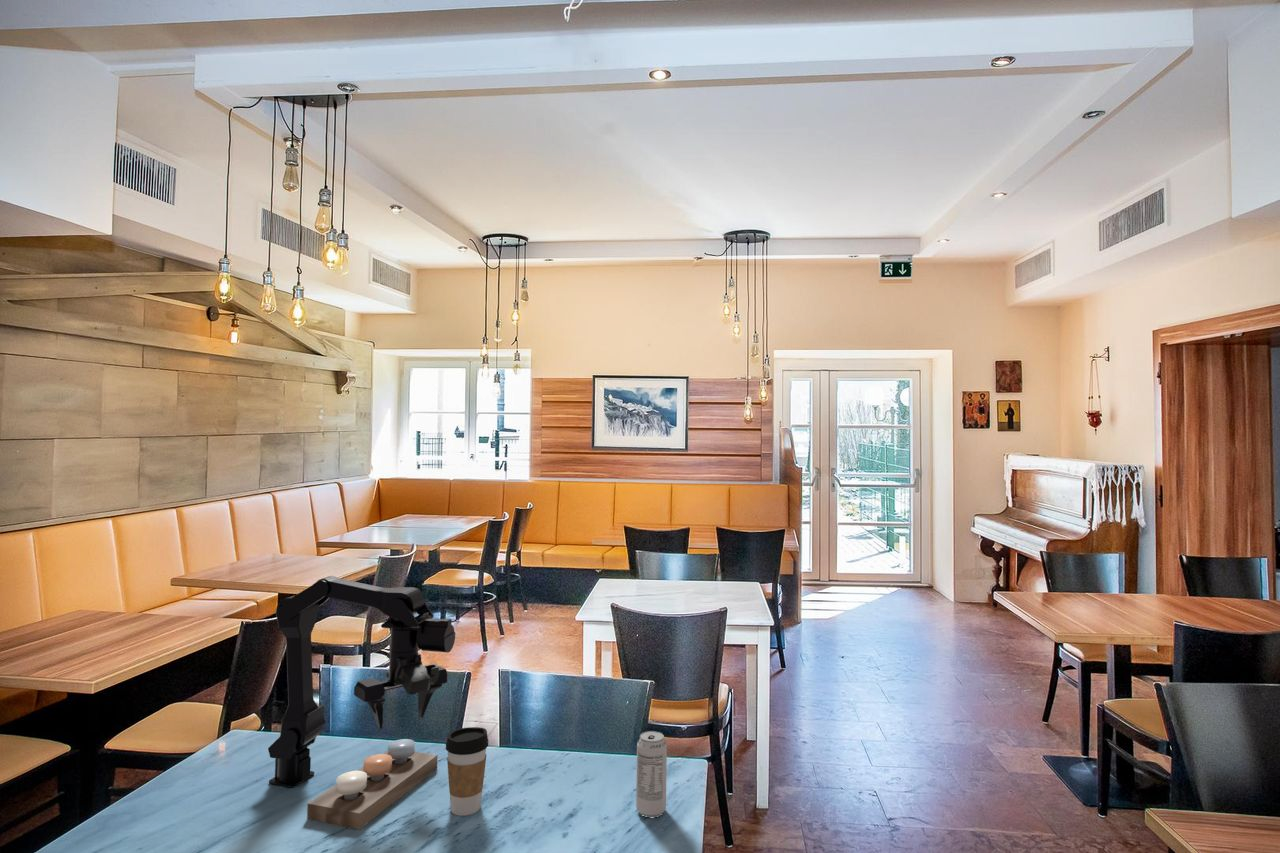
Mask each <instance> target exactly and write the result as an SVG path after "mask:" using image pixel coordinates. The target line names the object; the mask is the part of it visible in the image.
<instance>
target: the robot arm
mask: <svg viewBox="0 0 1280 853" xmlns="http://www.w3.org/2000/svg"><path fill="white" fill-rule="evenodd" d="M329 599H333V600H337V601H342V602H346V603H352V604H355V605H361V606H365V607H369V608H373V609H376V610H378V611H379V612H380V613H381V614H383V615H384V616H387V617H388V618H387V619H386V621H384V622H383V623H381V625H380V627H381V628H383V629H390V644H389V646H390V648H389V649H390V651H388V652H386V658H388V659H389V664H388V666H389V668H388V671H386V673H385V677H386V678H387V679H388V680H383V681H380V680H378V679H376V678H374V677H373V678H372V677H370V678H367V679H363V680H358V681H357V682H356V684H355V685H354V687H353V689H354V690H353V695H354V696H355V697H356V698H358V699H359V700H361V701H363V702H365V703H366V704H368V706H369V708H370V711H371V713H372V715H373V716H372V717H373V718H374V720H375V723H376V726H377V728H378V730H382V729H383V723H384V716H383V715H384V704H385V701H386V699H385V698H384V696H385V692H386V691H390V690H393V689H397V688H399V689H400V688H402V687H403V689H404V690H405V692H406V694H407V695H410V696H411V695H412V696H413V695H416V694H417V701H418V702H417V703H418V704H417V709H418V717H419V718H421V719H422V718H424V716H425V712H426V710H427V708H428V706H429V703H430V700H431V699H432V696H433V694H434V692H436V691H437V690H438V689H441V688H442V687H443V684H446V683H448V682H449V672H448V670H447V669H446V668H444V667H442V666H440V665H438V664H437V663H431V664H426V665H425V664H423V662H422V654H421V653H419V649H420V650H421V651H423V652H434V653H436V652H437V653H446V654H448V653H450V652H451V651H452V650H453V648H454V645H455V643H456V642H455V640H456V632H455V627H454V626H453V624H452V620H453V619H452V618H434V614H433V612H432V611H431V609H430V608H429V606H428V604H427V603H426V601H425V598H424V594H423V593H422V591H421V590H420V589H419V588H417V587H410V586H409V587H408V586H404V587H403V586H400V587H382V586H377V585H373V584H367V583H363V582H362V583H361V582H358V581H353V580H349V579H343V578H339V577H338V576H336V575H335V576H334V575H330V576H326V577H322V578H320V579H318V580H317V581H316V582H314V583H313V584H312V585H310V586H308V587H307V588H306V589H305V588H304V590H302V591H300V592H299V593H297V594H296V595H295V594H294V595H292V596H289V597H286V598H283V599H281V601H280V602H279V603H278V604H277V605H276V609H275V615H276V619H277V621H276V622H277V624H278V628H279V630H280V632H281V633H282V634H283V636H284V637H285V642H286V669H287V670H286V672H287V675H286V676H287V677H286V678H287V694H288V695H287V700H288V701H287V702H288V705H287V708H286V711H285V712H284V715H283V718H282V720H281V727H280V733H279V734H280V735H279V737H278V738H277V739H276V740H275V741H274V742H273V743H272V744H271V745H270V746H269V747H268V754H269V757H270V758H271V759H275V761H274V762H275V763H274V764H275V765H274V777H273V778H271V779H269V781H268V784H271V785H277V786H282V787H288V788H294V787H296V786H298V785H299V784H301V783H303V782H304V781H306V780H307V779H309V778H311V777H313V776H314V775H315V771H312V770H311V763H312V757H311V756H310V754H311V748H308V747H309V746H311V745H312V744H314V743H315V741H316V738H317V737H318V736H319V735H320V734H321V733H322V731H323V727H324V725H326V723H327V722H326V720H325V706H324V705H320V706H318V704H317V702H316V701H315V700H314V685H313V684H314V681H313V655H312V654H313V651H312V633H313V630H314V628H315V626H316V623H317V620H318V613H319V607H320V606H322V605H324V603H326V602H327V601H328V600H329ZM415 614H417V615H415Z"/></svg>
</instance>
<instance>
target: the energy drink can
mask: <svg viewBox="0 0 1280 853" xmlns="http://www.w3.org/2000/svg"><path fill="white" fill-rule="evenodd" d="M667 750H668V744H667V742H666V740H665V735H664V734H663V733H662V732H660V731H654V730H647V731H644V732H642V733H640V735H639V739H638V741H637V744H636V788H635V789H636V791H635V792H636V793H635V796H636V797H635V798H636V800H635V807H636V810H637V811H638V814H639V813H640V814H641V815H644V816H647V817H657V816H660V815H661V814H662V813H663V814H664V813H665V811H666V810H667V771H668V770H667V768H668V766H667V760H668V759H667V758H668V756H667V755H668V753H667V752H668V751H667ZM640 814H639V815H640ZM663 814H662V815H663ZM641 815H640V816H641ZM660 817H661V816H660Z"/></svg>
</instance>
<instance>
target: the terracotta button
mask: <svg viewBox="0 0 1280 853" xmlns="http://www.w3.org/2000/svg"><path fill="white" fill-rule="evenodd" d="M362 767H363V772H365V773H366V774H367V775H368V776H371V781H374V782H380V781H382V780H383V779H384V774H386V773H388V772H389V771H390V770H391V769H392V757H391V756H390V755H387V754H383V753H379V754H373V755H371V756H370V755H369V756H368V757H366V758H365V759H364V760H363V766H362Z"/></svg>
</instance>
